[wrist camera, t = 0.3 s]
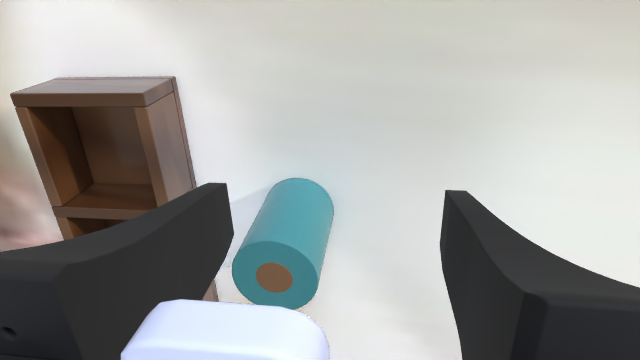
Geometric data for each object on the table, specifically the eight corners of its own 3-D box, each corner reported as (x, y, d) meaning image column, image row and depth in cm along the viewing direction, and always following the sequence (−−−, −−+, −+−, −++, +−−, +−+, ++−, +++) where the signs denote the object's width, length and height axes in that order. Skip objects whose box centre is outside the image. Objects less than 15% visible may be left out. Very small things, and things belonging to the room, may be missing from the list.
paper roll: (334, 239, 26) (320, 314, 21) (269, 235, 27) (237, 308, 21) (332, 178, 24) (316, 243, 19) (262, 176, 25) (225, 238, 19)
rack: (226, 343, 32) (209, 383, 29) (138, 336, 33) (113, 374, 30) (175, 76, 23) (142, 93, 20) (57, 77, 24) (8, 93, 21)
